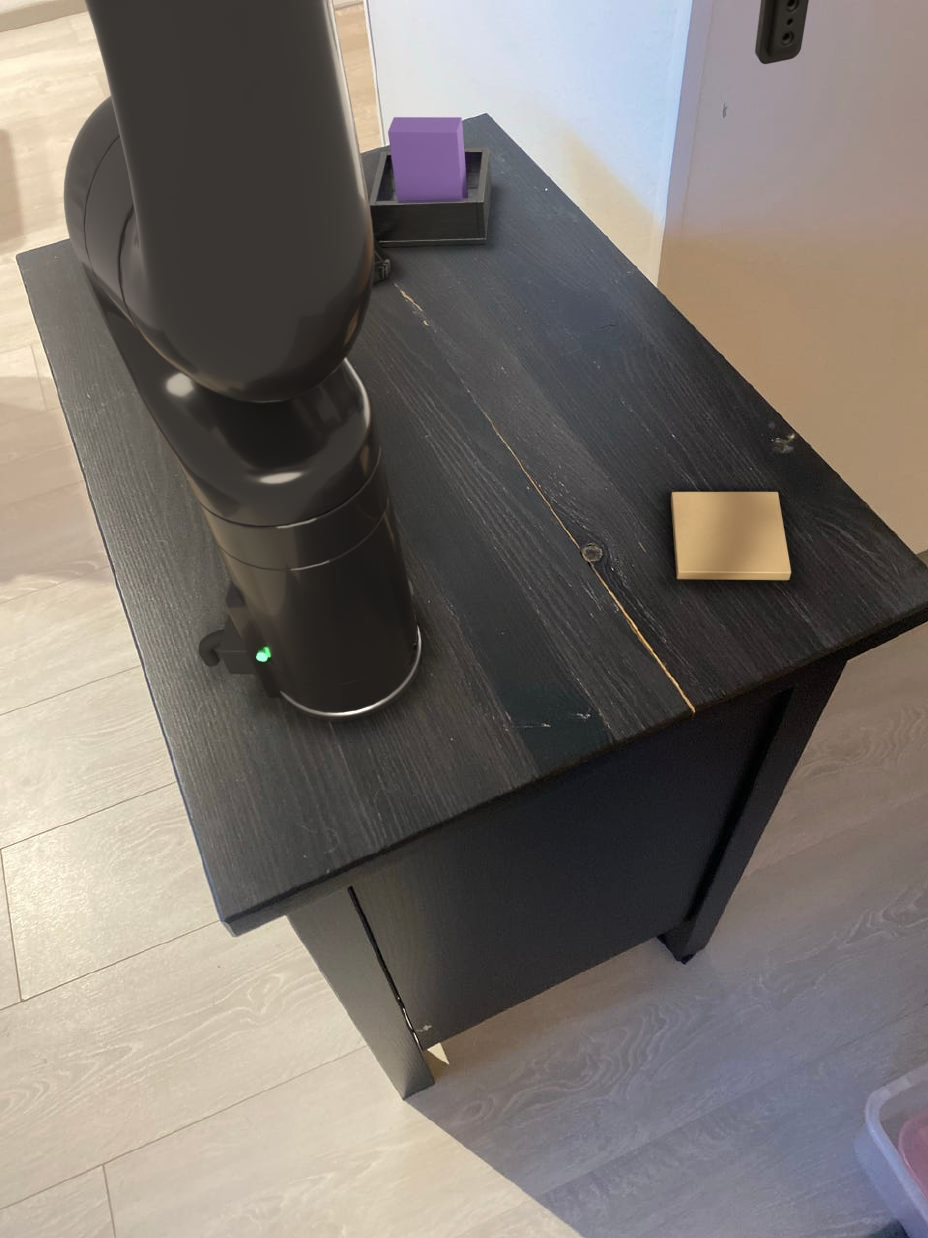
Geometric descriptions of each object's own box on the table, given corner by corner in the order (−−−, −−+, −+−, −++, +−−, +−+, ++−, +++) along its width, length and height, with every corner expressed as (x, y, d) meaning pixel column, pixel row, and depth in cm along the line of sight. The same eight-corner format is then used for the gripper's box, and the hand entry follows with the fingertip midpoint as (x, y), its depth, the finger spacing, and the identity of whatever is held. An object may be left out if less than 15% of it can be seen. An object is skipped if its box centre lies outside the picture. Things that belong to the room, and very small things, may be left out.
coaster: (676, 579, 61) (677, 571, 60) (670, 499, 65) (671, 491, 64) (789, 580, 60) (791, 572, 59) (775, 499, 64) (778, 491, 63)
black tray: (375, 247, 86) (368, 204, 82) (387, 193, 91) (381, 150, 87) (485, 244, 84) (483, 201, 81) (491, 189, 90) (489, 146, 86)
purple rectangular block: (464, 220, 86) (457, 131, 80) (399, 218, 87) (387, 131, 80) (468, 204, 87) (461, 116, 81) (405, 203, 88) (393, 116, 82)
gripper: (665, -422, 43) (652, -24, 56) (764, -340, 35) (721, 101, 48) (831, -459, 42) (778, -50, 56) (968, -385, 34) (868, 71, 48)
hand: (752, 19), depth 52 cm, fingers open, 8 cm apart
